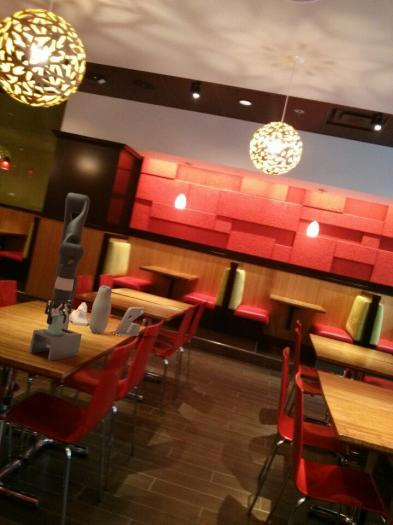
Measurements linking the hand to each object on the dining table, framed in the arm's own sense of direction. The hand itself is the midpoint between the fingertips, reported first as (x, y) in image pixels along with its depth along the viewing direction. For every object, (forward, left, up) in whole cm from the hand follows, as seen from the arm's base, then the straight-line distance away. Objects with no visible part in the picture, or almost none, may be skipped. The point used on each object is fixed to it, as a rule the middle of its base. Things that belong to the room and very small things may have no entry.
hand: (55, 323), depth 194 cm
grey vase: (-59, -19, -14) cm, 64 cm away
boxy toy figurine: (0, 0, -11) cm, 11 cm away
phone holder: (-78, -11, -14) cm, 80 cm away
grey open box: (-3, 0, -14) cm, 14 cm away
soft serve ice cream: (-67, -39, -14) cm, 79 cm away
